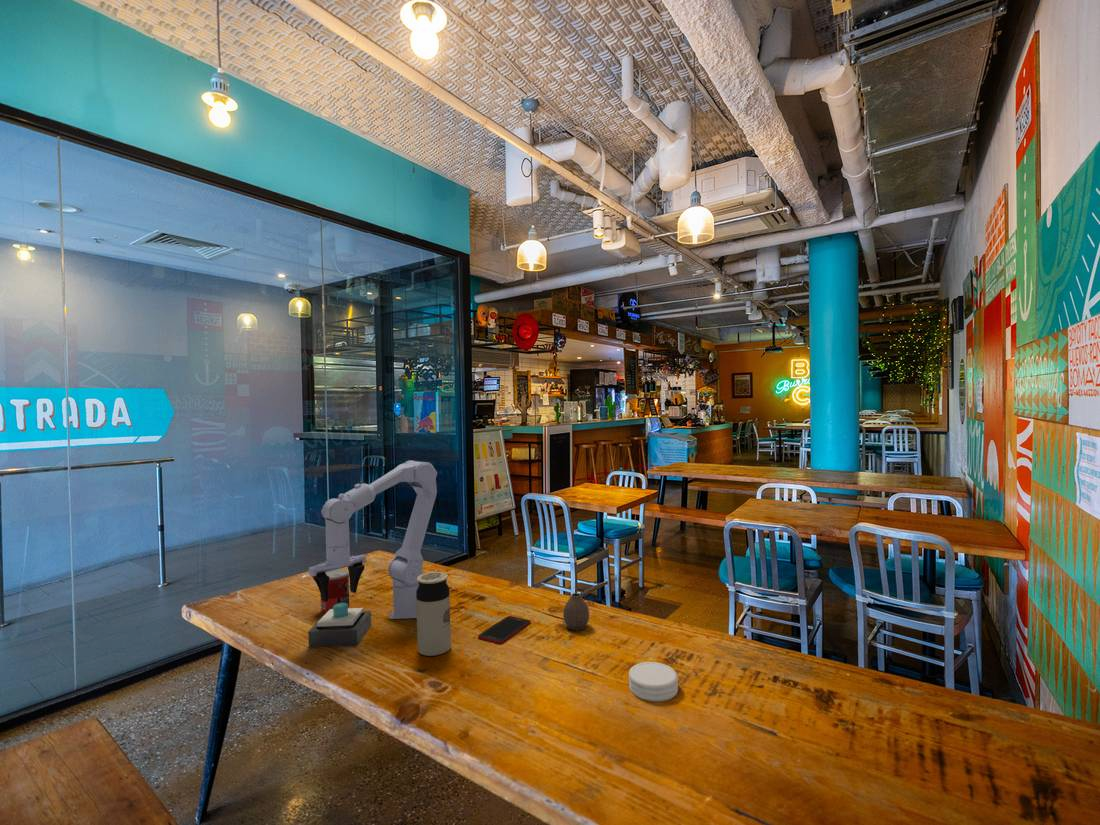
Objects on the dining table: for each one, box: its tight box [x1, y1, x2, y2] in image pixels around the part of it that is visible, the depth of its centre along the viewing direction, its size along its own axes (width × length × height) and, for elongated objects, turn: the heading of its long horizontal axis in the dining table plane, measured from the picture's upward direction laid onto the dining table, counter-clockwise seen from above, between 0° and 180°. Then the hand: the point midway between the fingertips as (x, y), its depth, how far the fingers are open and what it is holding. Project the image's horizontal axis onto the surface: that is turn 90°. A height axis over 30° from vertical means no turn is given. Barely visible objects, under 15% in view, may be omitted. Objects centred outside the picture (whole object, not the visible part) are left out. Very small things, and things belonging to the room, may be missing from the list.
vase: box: [562, 592, 590, 631], centre depth 139 cm, size 7×7×9 cm
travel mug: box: [416, 571, 452, 657], centre depth 128 cm, size 8×8×18 cm
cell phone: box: [477, 615, 532, 645], centre depth 138 cm, size 8×15×1 cm, turn 150°
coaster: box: [628, 661, 679, 702], centre depth 108 cm, size 10×10×4 cm
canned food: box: [319, 568, 350, 615], centre depth 154 cm, size 8×8×11 cm
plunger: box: [316, 603, 364, 627], centre depth 137 cm, size 9×9×4 cm
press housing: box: [307, 610, 372, 648], centre depth 137 cm, size 12×12×4 cm
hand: (339, 596), depth 137 cm, fingers open, 7 cm apart
